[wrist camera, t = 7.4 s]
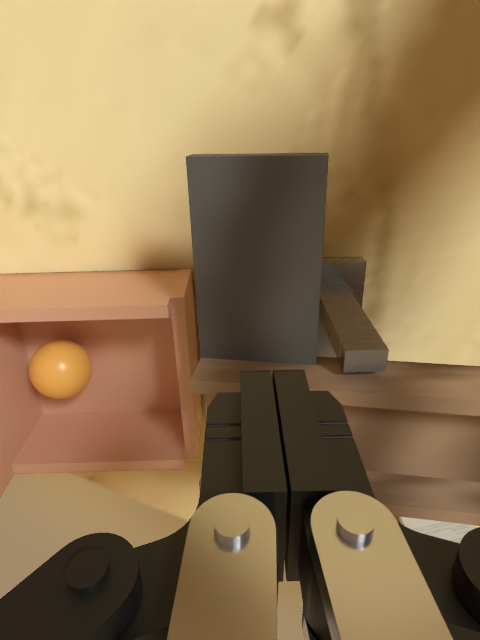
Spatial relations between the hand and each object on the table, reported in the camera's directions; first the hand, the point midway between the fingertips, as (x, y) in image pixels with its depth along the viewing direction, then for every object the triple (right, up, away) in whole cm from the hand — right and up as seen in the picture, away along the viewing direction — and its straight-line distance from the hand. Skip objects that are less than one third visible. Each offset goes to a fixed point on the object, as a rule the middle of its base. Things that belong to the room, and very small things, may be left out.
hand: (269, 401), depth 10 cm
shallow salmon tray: (-10, 0, +21) cm, 24 cm away
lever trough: (+7, +1, +11) cm, 13 cm away
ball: (-13, -1, +19) cm, 23 cm away
